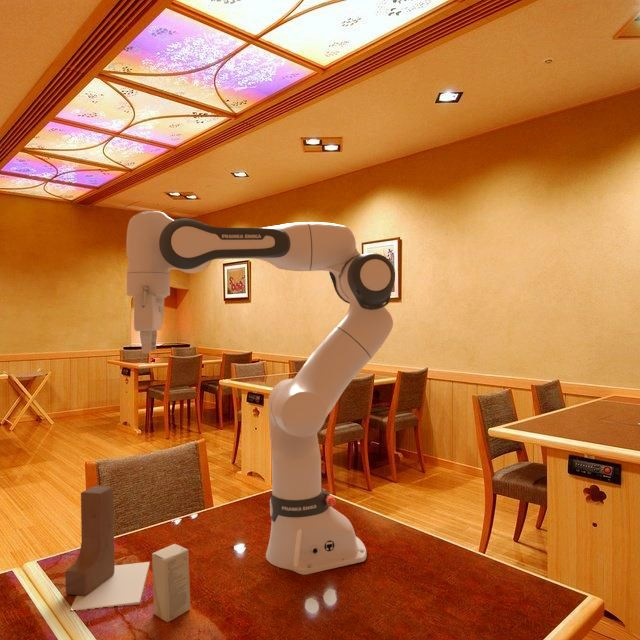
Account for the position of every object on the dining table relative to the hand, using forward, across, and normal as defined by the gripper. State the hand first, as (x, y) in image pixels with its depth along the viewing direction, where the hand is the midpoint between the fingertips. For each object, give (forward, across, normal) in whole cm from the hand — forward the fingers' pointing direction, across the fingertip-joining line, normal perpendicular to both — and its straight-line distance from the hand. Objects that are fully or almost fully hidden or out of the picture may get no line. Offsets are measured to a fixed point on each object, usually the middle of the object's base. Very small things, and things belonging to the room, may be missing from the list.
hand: (149, 352), depth 109 cm
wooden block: (+46, -6, +11) cm, 47 cm away
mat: (+46, -8, +6) cm, 47 cm away
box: (+46, -20, -6) cm, 50 cm away
